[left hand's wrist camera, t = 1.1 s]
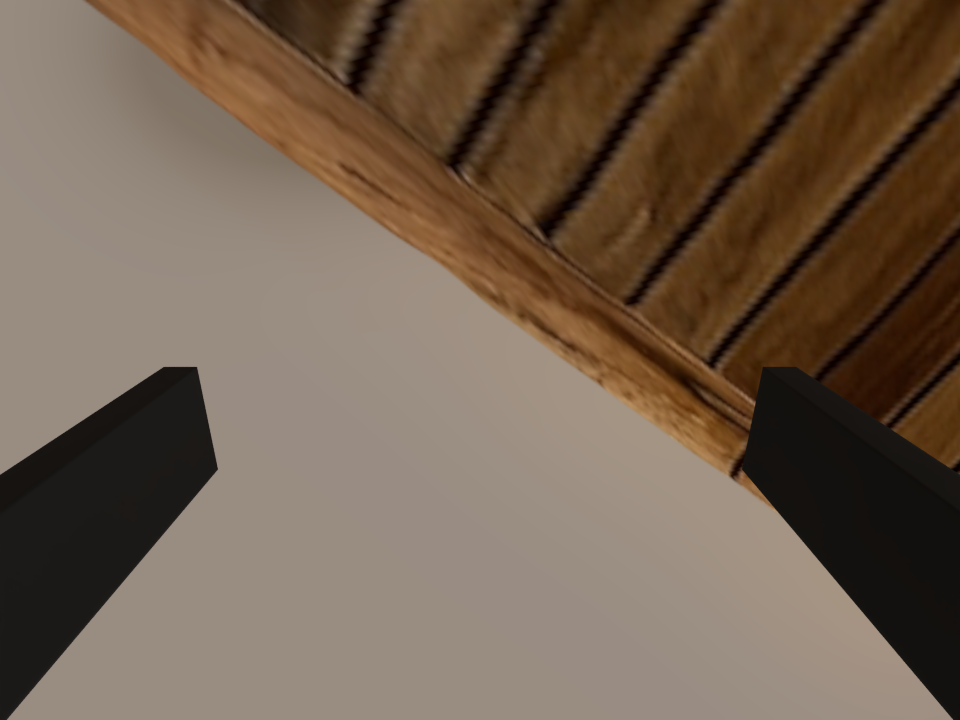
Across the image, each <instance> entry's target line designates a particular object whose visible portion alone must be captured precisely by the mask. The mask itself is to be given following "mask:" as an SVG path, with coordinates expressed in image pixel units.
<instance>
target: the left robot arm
mask: <svg viewBox="0 0 960 720" xmlns="http://www.w3.org/2000/svg"><path fill="white" fill-rule="evenodd" d="M217 470H218V468H217V463H216V458H215V453H214V448H213V443H212V438H211V433H210V429H209V424H208V419H207V414H206V409H205V404H204V399H203V394H202V389H201V384H200V380H199V375H198V370H197V367H163V368H162V369H160V370H159V371H157V372H156V373H154V374H153V375H151V376H149V377H148V378H147V379H145V380H143V381H142V382H140V383H139V384H137V385H136V386H134V387H133V388H131V389H130V390H128V391H127V392H125V393H124V394H122V395H121V396H119V397H118V398H116V399H115V400H113V401H112V402H110V403H109V404H107V405H105V406H104V407H103V408H101V409H99V410H98V411H96V412H95V413H93V414H92V415H90V416H89V417H87V418H86V419H84V420H83V421H81V422H80V423H78V424H77V425H75V426H74V427H72V428H71V429H69V430H68V431H66V432H65V433H63V434H61V435H60V436H58V437H57V438H55V439H54V440H52V441H51V442H49V443H48V444H46V445H45V446H43V447H42V448H40V449H39V450H37V451H36V452H34V453H33V454H31V455H30V456H28V457H27V458H25V459H24V460H22V461H20V462H19V463H17V464H16V465H14V466H13V467H11V468H10V469H8V470H7V471H5V472H4V473H2V474H1V475H0V720H7V719H8V718H9V716H10V715H11V714H12V713H13V712H14V711H15V709H16V708H17V707H18V706H19V704H20V703H21V702H22V701H23V700H24V699H25V697H26V696H27V695H28V694H29V693H30V691H31V690H32V689H33V688H34V687H35V686H36V684H37V683H38V682H39V681H40V680H41V678H42V677H43V676H44V675H45V674H46V672H47V671H48V670H49V669H50V668H51V667H52V665H53V664H54V663H55V662H56V661H57V659H58V658H59V657H60V656H61V655H62V654H63V652H64V651H65V650H66V649H67V648H68V646H69V645H70V644H71V643H72V642H73V640H74V639H75V638H76V637H77V636H78V635H79V633H80V632H81V631H82V630H83V629H84V628H85V626H86V625H87V624H88V623H89V622H90V620H91V619H92V618H93V617H94V616H95V614H96V613H97V612H98V611H99V610H100V609H101V607H102V606H103V605H104V604H105V603H106V601H107V600H108V599H109V598H110V597H111V595H112V594H113V593H114V592H115V591H116V590H117V588H118V587H119V586H120V585H121V584H122V582H123V581H124V580H125V579H126V578H127V576H128V575H129V574H130V573H131V572H132V571H133V569H134V568H135V567H136V566H137V565H138V564H139V562H140V561H141V560H142V559H143V558H144V556H145V555H146V554H147V553H148V552H149V550H150V549H151V548H152V547H153V546H154V545H155V543H156V542H157V541H158V540H159V539H160V537H161V536H162V535H163V534H164V533H165V532H166V530H167V529H168V528H169V527H170V526H171V524H172V523H173V522H174V521H175V520H176V518H177V517H178V516H179V515H180V514H181V513H182V511H183V510H184V509H185V508H186V507H187V505H188V504H189V503H190V502H191V501H192V499H193V498H194V497H195V496H196V495H197V494H198V492H199V491H200V490H201V489H202V488H203V486H204V485H205V484H206V483H207V482H208V480H209V479H210V478H211V477H212V476H213V475H214V473H215V472H216V471H217ZM742 470H743V471H744V472H745V473H746V475H747V476H748V477H749V478H750V479H751V481H752V482H753V483H754V484H755V485H756V486H757V488H758V489H759V490H760V491H761V492H762V494H763V495H764V496H765V497H766V498H767V500H768V501H769V502H770V503H771V504H772V505H773V507H774V508H775V509H776V510H777V511H778V513H779V514H780V515H781V516H782V517H783V518H784V520H785V521H786V522H787V523H788V524H789V526H790V527H791V528H792V529H793V530H794V531H795V533H796V534H797V535H798V536H799V537H800V539H801V540H802V541H803V542H804V543H805V545H806V546H807V547H808V548H809V549H810V550H811V552H812V553H813V554H814V555H815V556H816V558H817V559H818V560H819V561H820V562H821V563H822V565H823V566H824V567H825V568H826V569H827V571H828V572H829V573H830V574H831V575H832V576H833V578H834V579H835V580H836V581H837V582H838V584H839V585H840V586H841V587H842V588H843V589H844V591H845V592H846V593H847V594H848V595H849V597H850V598H851V599H852V600H853V601H854V603H855V604H856V605H857V606H858V607H859V608H860V610H861V611H862V612H863V613H864V614H865V616H866V617H867V618H868V619H869V620H870V622H871V623H872V624H873V625H874V626H875V627H876V629H877V630H878V631H879V632H880V633H881V635H882V636H883V637H884V638H885V639H886V641H887V642H888V643H889V644H890V645H891V646H892V648H893V649H894V650H895V651H896V652H897V654H898V655H899V656H900V657H901V658H902V659H903V661H904V662H905V663H906V664H907V665H908V667H909V668H910V669H911V670H912V671H913V673H914V674H915V675H916V676H917V677H918V678H919V680H920V681H921V682H922V683H923V684H924V686H925V687H926V688H927V689H928V690H929V692H930V693H931V694H932V695H933V696H934V697H935V699H936V700H937V701H938V702H939V703H940V705H941V706H942V707H943V708H944V709H945V710H946V712H947V713H948V714H949V715H950V716H951V718H952V719H953V720H960V475H959V474H958V473H956V472H955V471H953V470H952V469H950V468H949V467H947V466H946V465H944V464H943V463H941V462H940V461H938V460H936V459H935V458H933V457H932V456H930V455H929V454H927V453H926V452H924V451H923V450H921V449H920V448H918V447H917V446H915V445H914V444H912V443H911V442H909V441H908V440H906V439H905V438H903V437H902V436H900V435H899V434H897V433H895V432H894V431H892V430H891V429H889V428H888V427H886V426H885V425H883V424H882V423H880V422H879V421H877V420H876V419H874V418H873V417H871V416H870V415H868V414H867V413H865V412H864V411H862V410H861V409H859V408H858V407H856V406H855V405H853V404H851V403H850V402H848V401H847V400H845V399H844V398H842V397H841V396H839V395H838V394H836V393H835V392H833V391H832V390H830V389H829V388H827V387H826V386H824V385H823V384H821V383H820V382H818V381H817V380H815V379H814V378H812V377H811V376H809V375H807V374H806V373H804V372H803V371H801V370H800V369H798V368H797V367H763V370H762V375H761V380H760V384H759V389H758V394H757V399H756V404H755V409H754V414H753V419H752V423H751V428H750V433H749V438H748V443H747V448H746V453H745V458H744V463H743V467H742Z"/></svg>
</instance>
